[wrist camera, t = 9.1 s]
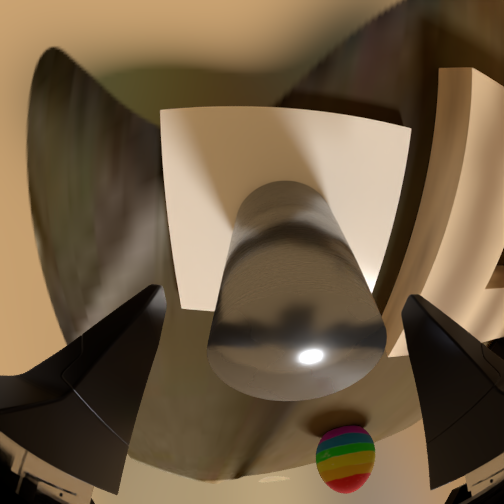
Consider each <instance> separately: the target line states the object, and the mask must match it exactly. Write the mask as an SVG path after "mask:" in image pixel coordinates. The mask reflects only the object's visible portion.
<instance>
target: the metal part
mask: <svg viewBox="0 0 504 504" xmlns="http://www.w3.org/2000/svg"><path fill="white" fill-rule="evenodd" d="M386 342H387V332H386V327H385V325H384V322H383V319H382V317H381V314H380V312H379V310H378V307H377V305H376V302H375V300H374V298H373V295H372V293H371V291H370V289H369V286H368V284H367V282H366V280H365V277H364V275H363V273H362V271H361V269H360V267H359V265H358V262H357V260H356V258H355V256H354V254H353V252H352V250H351V248H350V246H349V244H348V242H347V240H346V238H345V236H344V234H343V232H342V230H341V228H340V226H339V224H338V222H337V220H336V218H335V216H334V215H333V213H332V211H331V209H330V207H329V205H328V203H327V202H326V200H325V199H324V198H323V197H322V196H321V195H320V194H319V193H318V192H317V191H316V190H315V189H313V188H311V187H310V186H308V185H305V184H303V183H299V182H296V181H275V182H271V183H267V184H265V185H263V186H261V187H259V188H257V189H255V190H254V191H253V192H252V193H250V194H249V195H248V196H247V197H246V198H245V200H244V201H243V202H242V204H241V206H240V208H239V210H238V213H237V216H236V220H235V224H234V229H233V233H232V237H231V241H230V246H229V250H228V254H227V259H226V263H225V267H224V272H223V276H222V280H221V285H220V289H219V294H218V298H217V303H216V308H215V312H214V317H213V321H212V326H211V331H210V336H209V340H208V346H207V357H208V361H209V364H210V366H211V368H212V370H213V371H214V372H215V374H216V375H217V376H218V377H219V378H220V379H221V380H222V381H223V382H225V383H226V384H227V385H229V386H231V387H232V388H234V389H236V390H238V391H240V392H242V393H245V394H247V395H250V396H254V397H258V398H262V399H268V400H276V401H299V400H308V399H314V398H318V397H322V396H326V395H329V394H332V393H335V392H337V391H340V390H342V389H344V388H346V387H348V386H350V385H352V384H354V383H355V382H357V381H358V380H360V379H361V378H363V377H364V376H365V375H366V374H367V373H369V372H370V371H371V370H372V369H373V367H374V366H375V365H376V364H377V363H378V361H379V360H380V358H381V356H382V354H383V352H384V350H385V346H386Z"/></svg>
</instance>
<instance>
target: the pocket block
mask: <svg viewBox="0 0 504 504" xmlns="http://www.w3.org/2000/svg"><path fill="white" fill-rule="evenodd" d="M503 248H504V87H503V86H502V85H500V84H499V83H497V82H496V81H494V80H492V79H491V78H489V77H488V76H486V75H484V74H483V73H481V72H479V71H478V70H476V69H474V68H472V67H459V68H439V78H438V97H437V109H436V119H435V128H434V135H433V142H432V149H431V155H430V160H429V166H428V171H427V176H426V181H425V185H424V190H423V194H422V198H421V202H420V206H419V210H418V214H417V218H416V221H415V225H414V228H413V232H412V235H411V238H410V242H409V245H408V248H407V251H406V254H405V257H404V260H403V263H402V266H401V269H400V271H399V274H398V277H397V280H396V282H395V285H394V287H393V290H392V293H391V295H390V298H389V300H388V302H387V305H386V307H385V310H384V312H383V314H382V319H383V322H384V325H385V327H386V332H387V342H386V346H385V350H386V353H387V356H388V357H395V356H404V355H409V354H408V350H407V345H406V339H405V333H404V328H403V322H402V317H401V312H402V309H403V307H404V305H405V302H406V300H407V298H408V296H409V295H411V294H419V295H421V296H422V297H423V298H425V299H426V300H428V301H429V302H430V303H432V304H433V305H434V306H436V307H437V308H438V309H440V310H441V311H442V312H444V313H445V314H446V315H447V316H449V317H450V318H451V319H453V320H454V321H455V322H456V323H458V324H459V325H460V326H462V327H463V328H464V329H465V330H467V331H468V332H469V333H470V334H472V335H473V336H474V337H475V338H476V339H478V340H479V341H480V342H485V341H489V340H493V339H497V338H501V337H504V266H503V265H497V262H498V260H499V258H500V255H501V253H502V251H503Z"/></svg>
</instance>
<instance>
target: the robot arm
mask: <svg viewBox="0 0 504 504" xmlns="http://www.w3.org/2000/svg"><path fill="white" fill-rule="evenodd" d="M166 307H167V304H166V299H165V294H164V289H163V287H162V286H161V285H155V284H151V285H149V286H148V287H146V288H145V289H144V290H142V291H141V292H139V293H138V294H137V295H135V296H134V297H132V298H131V299H130V300H128V301H127V302H125V303H124V304H123V305H121V306H120V307H119V308H117V309H116V310H114V311H113V312H112V313H110V314H109V315H108V316H106V317H105V318H104V319H102V320H101V321H99V322H98V323H97V324H95V325H94V326H93V327H91V328H90V329H89V330H87V331H86V332H85V333H83V334H82V336H79V337H78V338H77V339H75V340H74V341H73V342H71V343H70V344H69V345H67V346H66V347H65V348H63V349H62V350H60V351H59V352H57V353H56V354H54V355H53V356H51V357H49V358H48V359H46V360H45V361H43V362H42V363H40V364H39V365H37V366H35V367H34V368H32V369H31V370H29V371H27V372H25V373H23V374H20V375H15V376H0V504H95V503H94V502H93V500H92V498H91V496H92V492H93V488H94V486H95V487H97V488H100V489H102V490H105V491H107V492H110V493H112V494H115V495H117V494H118V491H119V486H120V482H121V477H122V473H123V468H124V464H125V460H126V456H127V452H128V448H129V446H128V445H129V443H130V439H131V435H132V432H133V428H134V424H135V421H136V417H137V413H138V410H139V406H140V403H141V400H142V396H143V393H144V389H145V386H146V383H147V380H148V376H149V373H150V370H151V367H152V364H153V361H154V357H155V354H156V351H157V348H158V345H159V340H160V336H161V331H162V326H163V322H164V317H165V313H166ZM401 317H402V322H403V328H404V333H405V339H406V345H407V350H408V354H409V358H410V362H411V366H412V370H413V374H414V378H415V382H416V387H417V392H418V396H419V401H420V407H421V412H422V418H423V424H424V430H425V437H426V443H427V454H428V464H429V477H430V489H431V490H433V489H436V488H438V487H441V486H443V485H445V484H447V483H450V482H452V481H454V480H456V479H458V478H460V477H462V476H464V475H465V478H466V483H465V484H463V485H461V486H459V487H457V488H455V489H453V490H452V492H451V493H450V495H449V497H448V499H447V500H446V502H445V504H504V337H501V338H497V339H496V340H495V342H494V343H493V344H492V346H491V347H490V349H489V348H487V347H486V346H485V345H484V344H483V343H481V342H480V341H479V340H478V339H476V338H475V337H474V336H473V335H472V334H470V333H469V332H468V331H467V330H465V329H464V328H463V327H462V326H460V325H459V324H458V323H456V322H455V321H454V320H453V319H451V318H450V317H449V316H447V315H446V314H445V313H444V312H442V311H441V310H440V309H438V308H437V307H436V306H434V305H433V304H432V303H430V302H429V301H428V300H426V299H425V298H423V297H422V296H421V295H419V294H411V295H409V296H408V298H407V300H406V302H405V305H404V307H403V309H402V312H401Z"/></svg>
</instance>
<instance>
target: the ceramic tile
mask: <svg viewBox="0 0 504 504" xmlns="http://www.w3.org/2000/svg"><path fill="white" fill-rule="evenodd" d="M160 122H161V144H162V160H163V173H164V185H165V196H166V205H167V214H168V223H169V231H170V239H171V246H172V253H173V260H174V266H175V273H176V279H177V285H178V291H179V296H180V302H181V307H182V309H193V310H205V311H215V308H216V303H217V298H218V294H219V289H220V285H221V280H222V276H223V272H224V267H225V263H226V259H227V254H228V250H229V246H230V241H231V237H232V233H233V229H234V224H235V220H236V216H237V213H238V210H239V208H240V206H241V204H242V202H243V201H244V200H245V198H246V197H247V196H248V195H249V194H250V193H252V192H253V191H254V190H255V189H257V188H259V187H261V186H263V185H265V184H267V183H271V182H275V181H296V182H299V183H303V184H305V185H308V186H310V187H311V188H313V189H315V190H316V191H317V192H318V193H319V194H320V195H321V196H322V197H323V198H324V199H325V200H326V202H327V203H328V205H329V207H330V209H331V211H332V213H333V215H334V216H335V218H336V220H337V222H338V224H339V226H340V228H341V230H342V232H343V234H344V236H345V238H346V240H347V242H348V244H349V246H350V248H351V250H352V252H353V254H354V256H355V258H356V260H357V262H358V265H359V267H360V269H361V271H362V273H363V275H364V277H365V280H366V282H367V284H368V286H369V289H370V291H371V293H372V291H373V289H374V286H375V283H376V280H377V277H378V274H379V271H380V268H381V264H382V261H383V258H384V255H385V251H386V248H387V244H388V241H389V237H390V234H391V230H392V226H393V222H394V218H395V214H396V210H397V206H398V202H399V197H400V193H401V188H402V183H403V178H404V173H405V167H406V162H407V156H408V149H409V143H410V135H411V128H407V127H404V126H400V125H396V124H391V123H387V122H382V121H378V120H373V119H368V118H362V117H357V116H351V115H345V114H338V113H331V112H323V111H315V110H306V109H295V108H281V107H262V106H206V107H188V108H174V109H164V110H160Z"/></svg>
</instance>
